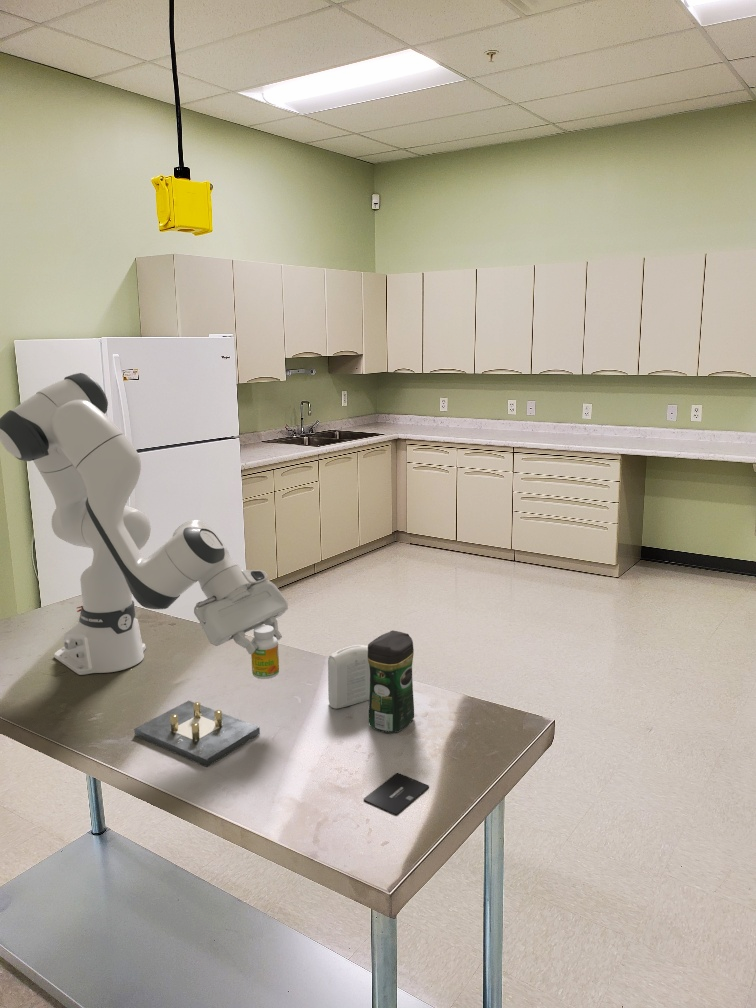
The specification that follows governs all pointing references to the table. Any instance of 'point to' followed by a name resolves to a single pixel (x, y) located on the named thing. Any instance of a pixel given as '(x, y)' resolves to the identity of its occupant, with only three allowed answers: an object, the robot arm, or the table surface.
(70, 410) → the robot arm
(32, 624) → the table surface
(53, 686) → the table surface
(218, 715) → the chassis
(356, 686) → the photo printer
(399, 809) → the solid state drive
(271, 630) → the supplement bottle
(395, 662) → the coffee jar
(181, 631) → the table surface
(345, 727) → the table surface
